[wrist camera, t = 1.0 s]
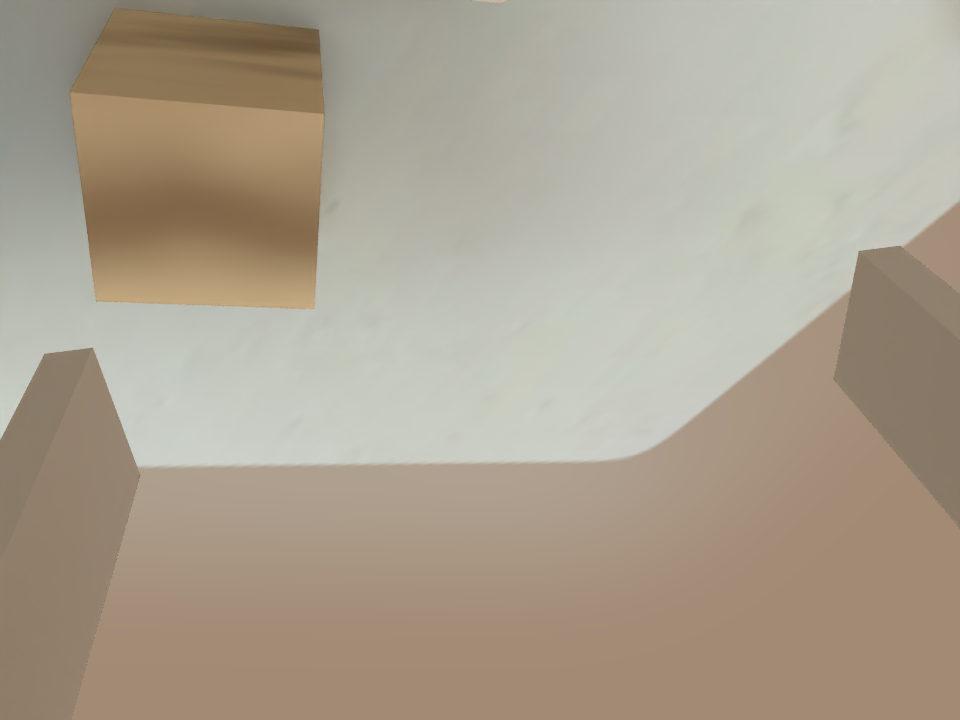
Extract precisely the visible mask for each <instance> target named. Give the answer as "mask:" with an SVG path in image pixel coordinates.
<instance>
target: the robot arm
mask: <svg viewBox="0 0 960 720" xmlns="http://www.w3.org/2000/svg"><path fill="white" fill-rule="evenodd" d="M834 381H835V382H836V383H837V384H838V385H839V386H840V388H841V389H842V390H843V391H844V392H845V393H846V395H847V396H848V397H849V398H850V399H851V400H852V402H853V403H854V404H855V405H856V406H857V408H858V409H859V410H860V411H861V412H862V414H863V415H864V416H865V417H866V418H867V419H868V421H869V422H870V423H871V424H872V425H873V427H874V428H875V429H876V430H877V431H878V432H879V434H880V435H881V436H882V437H883V438H884V439H885V441H886V442H887V443H888V444H889V445H890V447H891V448H892V449H893V450H894V451H895V452H896V454H897V455H898V456H899V457H900V458H901V459H902V461H903V462H904V463H905V464H906V465H907V467H908V468H909V469H910V470H911V471H912V472H913V474H914V475H915V476H916V477H917V478H918V480H919V481H920V482H921V483H922V484H923V485H924V487H925V488H926V489H927V490H928V491H929V492H930V493H931V495H932V496H933V497H934V498H935V500H936V501H937V502H938V503H939V504H940V505H941V507H942V508H943V509H944V510H945V511H946V513H947V514H948V515H949V516H950V517H951V518H952V519H953V521H954V522H955V523H956V524H957V525H958V527H959V528H960V293H958V292H957V291H956V290H955V289H953V288H952V287H951V286H950V285H948V284H947V283H946V282H945V281H943V280H942V279H941V278H940V277H939V276H937V275H936V274H935V273H934V272H932V271H931V270H930V269H929V268H927V267H926V266H925V265H923V264H922V263H921V262H920V261H919V260H917V259H916V258H914V256H912V255H911V254H910V253H909V252H907V251H906V250H905V249H904V248H902V247H901V246H895V247H887V248H879V249H871V250H863V251H859V253H858V258H857V263H856V268H855V273H854V278H853V284H852V289H851V294H850V299H849V304H848V309H847V314H846V319H845V324H844V329H843V334H842V339H841V344H840V349H839V355H838V360H837V365H836V370H835V375H834ZM139 478H140V474H139V471H138V468H137V465H136V463H135V460H134V457H133V455H132V452H131V449H130V447H129V444H128V441H127V439H126V436H125V433H124V430H123V428H122V425H121V422H120V420H119V417H118V414H117V412H116V409H115V406H114V404H113V401H112V398H111V395H110V393H109V390H108V387H107V385H106V382H105V379H104V377H103V374H102V371H101V369H100V366H99V363H98V360H97V358H96V355H95V352H94V350H93V348H88V349H80V350H72V351H64V352H56V353H48V354H44V356H43V358H42V360H41V362H40V364H39V366H38V368H37V370H36V372H35V374H34V376H33V378H32V380H31V381H30V383H29V385H28V387H27V389H26V391H25V393H24V395H23V397H22V399H21V401H20V403H19V405H18V407H17V409H16V411H15V413H14V415H13V417H12V419H11V420H10V422H9V424H8V426H7V428H6V430H5V432H4V434H3V436H2V438H1V440H0V720H71V719H72V716H73V712H74V709H75V705H76V702H77V698H78V695H79V691H80V687H81V684H82V680H83V677H84V673H85V670H86V666H87V663H88V659H89V655H90V652H91V648H92V645H93V641H94V638H95V634H96V631H97V627H98V624H99V620H100V616H101V613H102V609H103V606H104V602H105V599H106V595H107V592H108V588H109V585H110V581H111V578H112V574H113V570H114V567H115V563H116V560H117V556H118V553H119V549H120V546H121V542H122V539H123V535H124V531H125V527H126V524H127V521H128V517H129V513H130V510H131V507H132V503H133V500H134V496H135V492H136V489H137V485H138V482H139Z"/></svg>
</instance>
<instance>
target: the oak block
mask: <svg viewBox="0 0 960 720" xmlns="http://www.w3.org/2000/svg"><path fill="white" fill-rule="evenodd" d="M70 99H71V107H72V115H73V123H74V131H75V139H76V146H77V154H78V162H79V170H80V178H81V186H82V194H83V202H84V210H85V218H86V226H87V234H88V242H89V250H90V258H91V266H92V274H93V282H94V289H95V297H96V301H102V302H130V303H158V304H186V305H213V306H241V307H269V308H297V309H314V303H315V284H316V265H317V246H318V226H319V207H320V188H321V169H322V149H323V130H324V102H323V87H322V72H321V57H320V42H319V30H314V29H305V28H296V27H287V26H277V25H268V24H259V23H249V22H240V21H231V20H222V19H212V18H203V17H194V16H184V15H175V14H166V13H156V12H147V11H138V10H129V9H119V8H115V10H114V12H113V13H112V15H111V17H110V19H109V21H108V23H107V24H106V26H105V28H104V30H103V32H102V34H101V36H100V37H99V39H98V41H97V43H96V45H95V47H94V48H93V50H92V52H91V54H90V56H89V58H88V59H87V61H86V63H85V65H84V67H83V69H82V70H81V72H80V74H79V76H78V78H77V80H76V81H75V83H74V85H73V87H72V89H71V91H70Z"/></svg>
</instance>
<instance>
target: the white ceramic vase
mask: <svg viewBox="0 0 960 720" xmlns="http://www.w3.org/2000/svg"><path fill="white" fill-rule="evenodd" d="M474 1H483V2H492V3H503V2H506V1H509V0H474Z"/></svg>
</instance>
